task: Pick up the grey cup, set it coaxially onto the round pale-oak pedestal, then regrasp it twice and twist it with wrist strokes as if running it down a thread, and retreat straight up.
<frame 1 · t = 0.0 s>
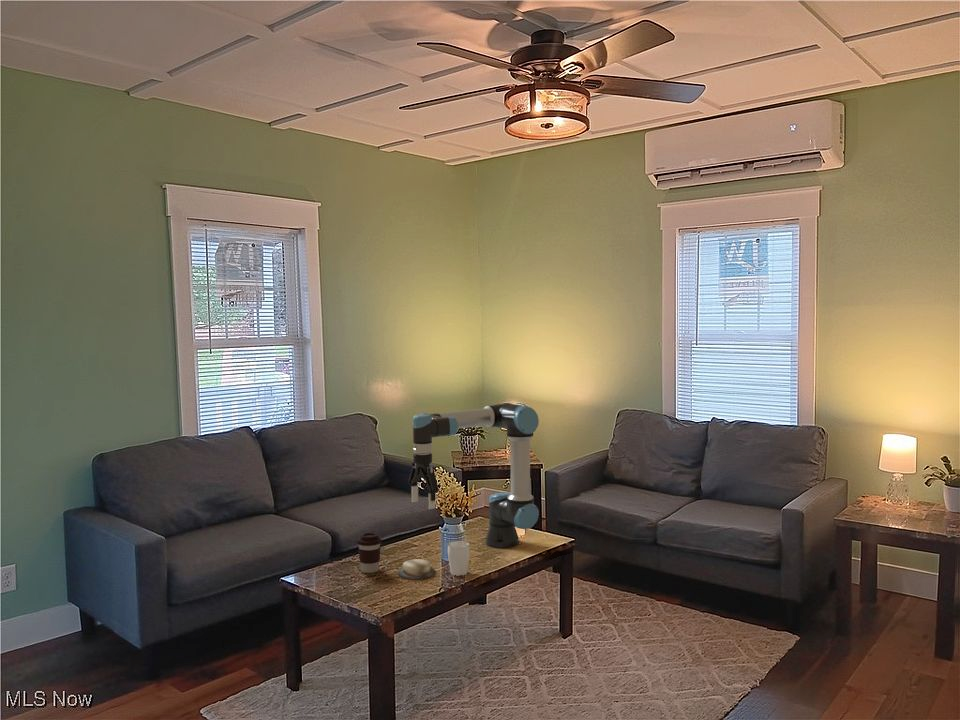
hand: (423, 505, 319), 28 cm above the table, fingers open, 13 cm apart
pedestal: (416, 573, 321), on the table
cup: (458, 573, 320), on the table
coffee cup: (369, 571, 324), on the table
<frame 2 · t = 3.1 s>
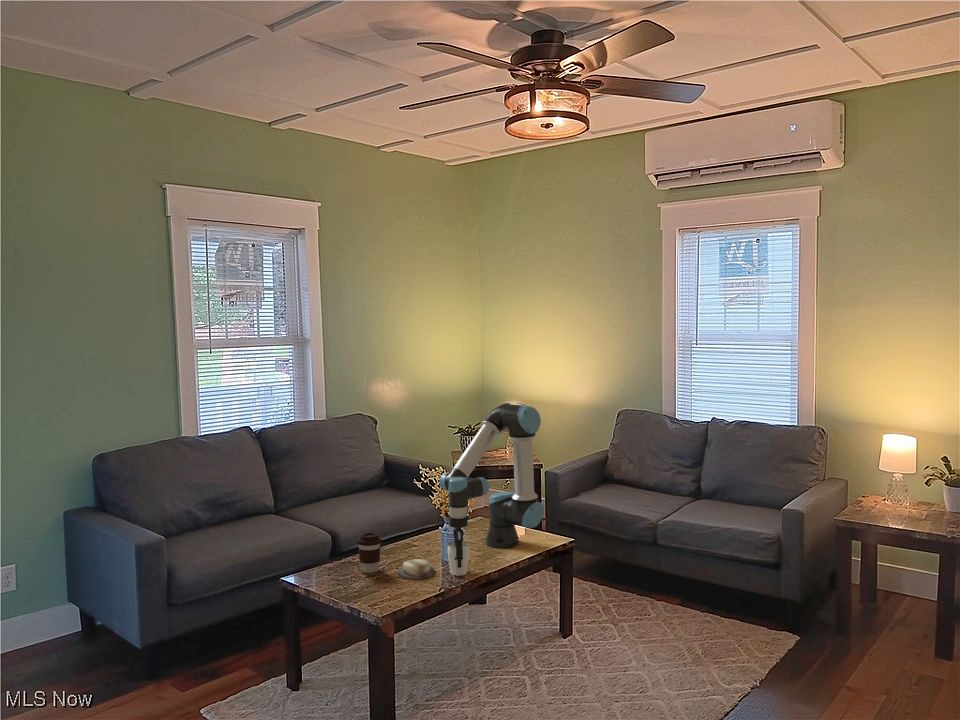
hand: (458, 570, 320), 1 cm above the table, fingers closed on cup, 9 cm apart
cup: (458, 573, 320), on the table, touching gripper
everything else where it was.
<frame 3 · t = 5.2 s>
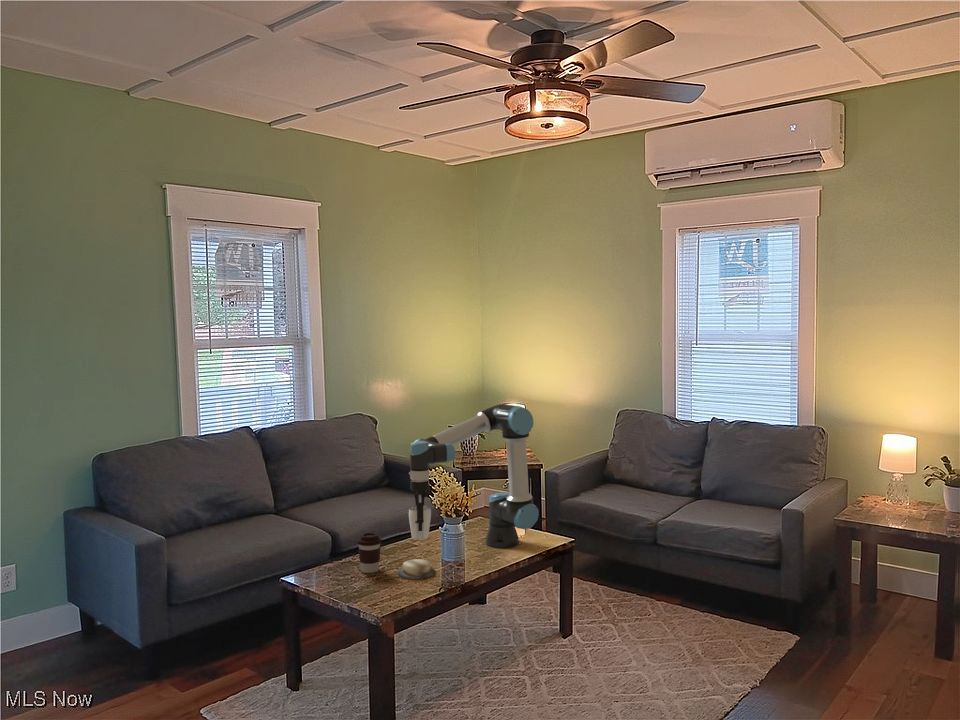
hand: (419, 534, 319), 16 cm above the table, fingers closed on cup, 9 cm apart
cup: (420, 537, 319), point 15 cm above the table, touching gripper
everything else where it was.
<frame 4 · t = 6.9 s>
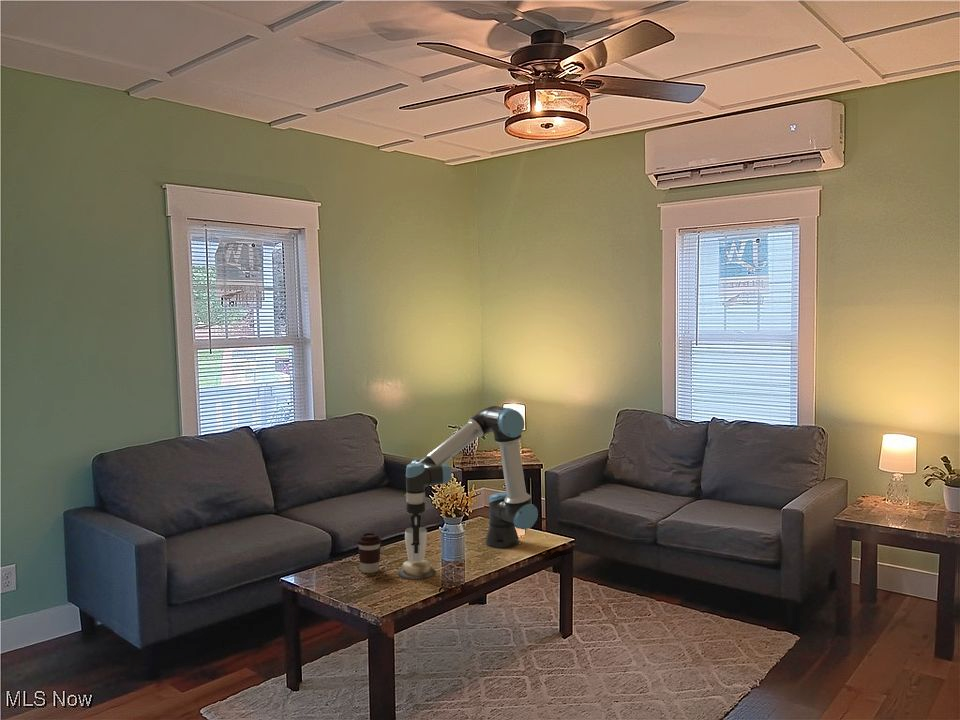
hand: (416, 556, 320), 7 cm above the table, fingers closed on cup, 9 cm apart
cup: (416, 559, 320), point 6 cm above the table, touching gripper
everything else where it was.
when the fingers open (6 cm above the table, at t = 7.6 s): cup moves 2 cm, resting on pedestal.
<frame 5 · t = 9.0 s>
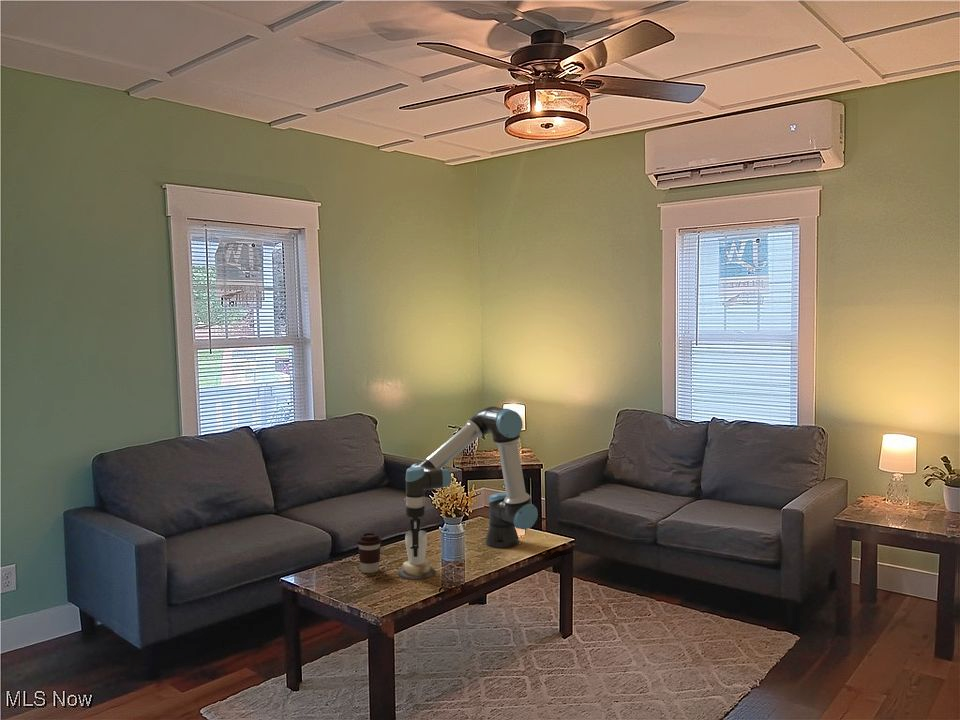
hand: (415, 559, 321), 6 cm above the table, fingers open, 10 cm apart
cup: (416, 562, 322), point 4 cm above the table, touching gripper, pedestal
everything else where it was.
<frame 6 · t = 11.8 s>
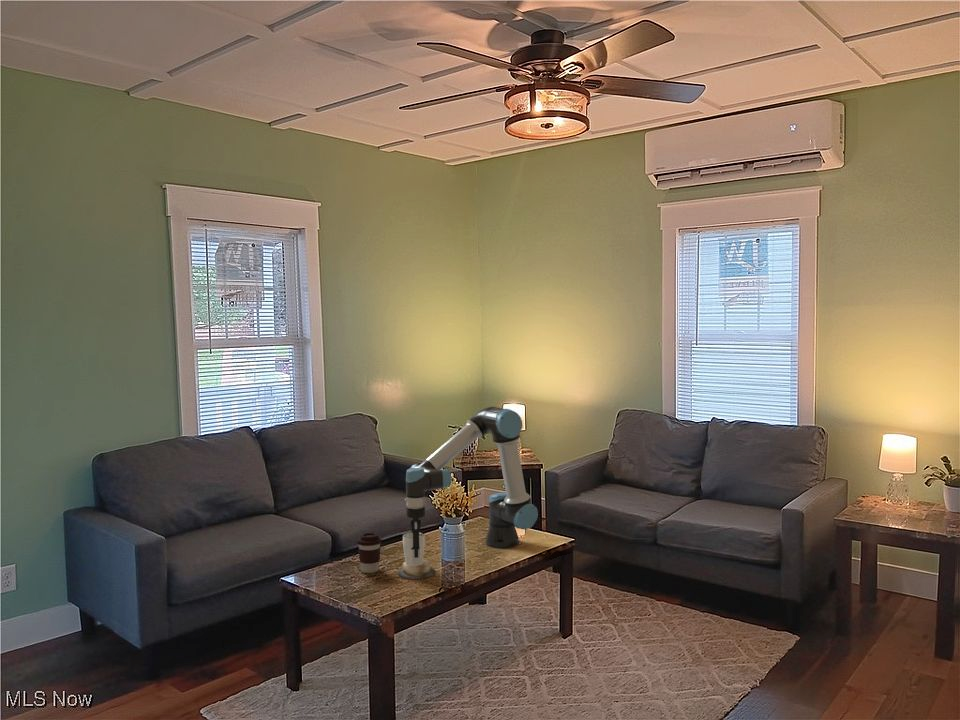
hand: (416, 560, 320), 5 cm above the table, fingers open, 10 cm apart
cup: (414, 564, 320), point 4 cm above the table, touching gripper, pedestal
everything else where it was.
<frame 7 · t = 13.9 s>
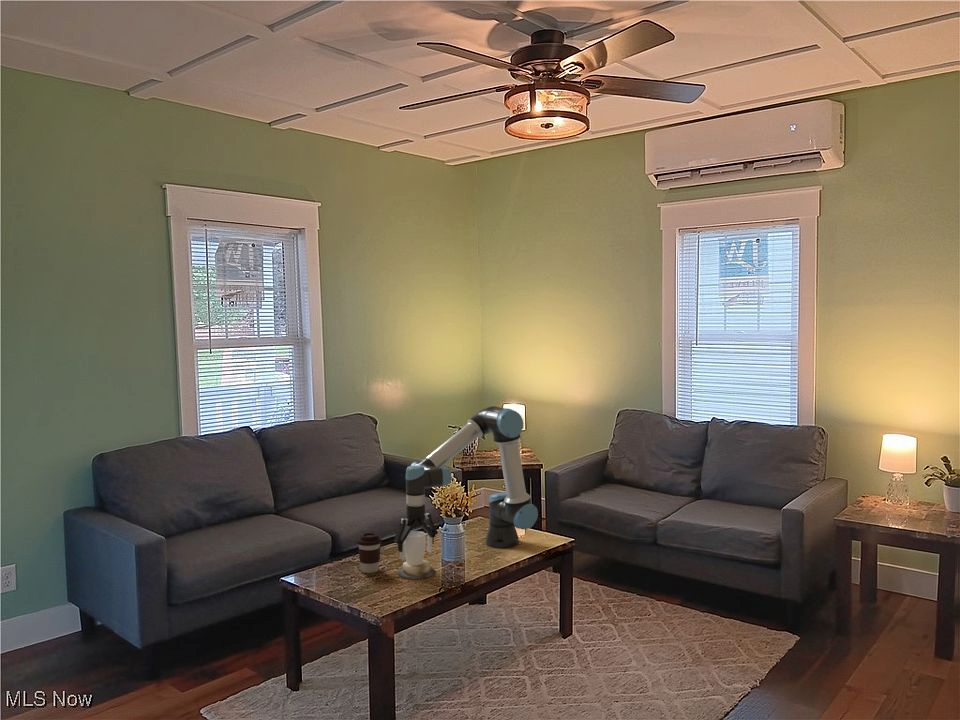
hand: (416, 555, 320), 7 cm above the table, fingers open, 13 cm apart
cup: (415, 563, 321), point 4 cm above the table, touching pedestal
everything else where it was.
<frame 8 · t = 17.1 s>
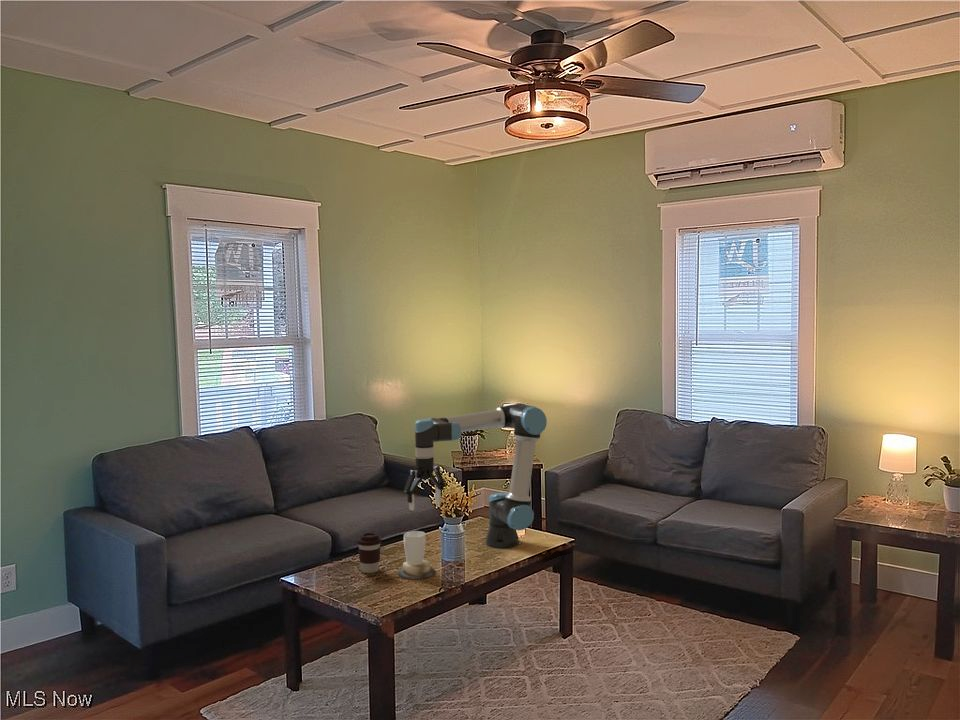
hand: (425, 507, 328), 25 cm above the table, fingers open, 13 cm apart
nothing on the table moved.
at the end: cup 1.0 cm off-centre on the pedestal, point 3.8 cm above the pedestal's base; cup tilted 0°; cup touching pedestal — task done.
